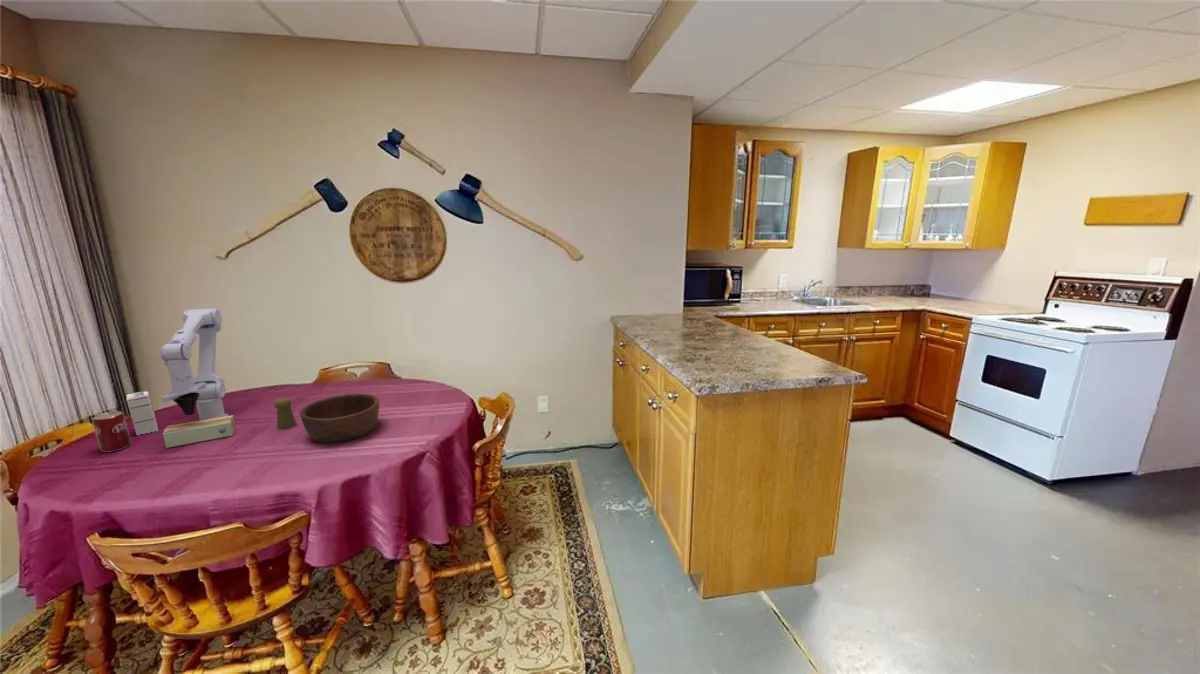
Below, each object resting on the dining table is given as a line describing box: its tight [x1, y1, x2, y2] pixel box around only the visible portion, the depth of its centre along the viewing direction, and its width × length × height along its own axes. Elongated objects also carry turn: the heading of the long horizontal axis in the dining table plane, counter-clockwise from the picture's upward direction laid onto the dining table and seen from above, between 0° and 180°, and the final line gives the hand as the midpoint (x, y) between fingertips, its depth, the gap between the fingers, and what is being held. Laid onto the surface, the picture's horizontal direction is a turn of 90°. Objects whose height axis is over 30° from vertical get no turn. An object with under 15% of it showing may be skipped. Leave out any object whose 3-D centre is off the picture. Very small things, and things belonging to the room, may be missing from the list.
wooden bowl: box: [300, 393, 380, 444], centre depth 165 cm, size 25×25×10 cm
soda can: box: [91, 411, 132, 453], centre depth 150 cm, size 7×7×12 cm
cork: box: [274, 397, 297, 430], centre depth 168 cm, size 6×6×11 cm
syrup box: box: [126, 390, 159, 436], centre depth 162 cm, size 6×6×14 cm
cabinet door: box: [162, 422, 234, 449], centre depth 155 cm, size 2×18×5 cm, turn 124°
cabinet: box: [162, 414, 237, 436], centre depth 159 cm, size 6×18×6 cm, turn 123°
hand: (189, 414), depth 156 cm, fingers closed
